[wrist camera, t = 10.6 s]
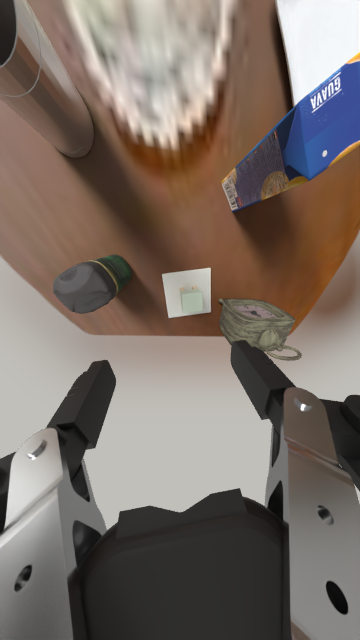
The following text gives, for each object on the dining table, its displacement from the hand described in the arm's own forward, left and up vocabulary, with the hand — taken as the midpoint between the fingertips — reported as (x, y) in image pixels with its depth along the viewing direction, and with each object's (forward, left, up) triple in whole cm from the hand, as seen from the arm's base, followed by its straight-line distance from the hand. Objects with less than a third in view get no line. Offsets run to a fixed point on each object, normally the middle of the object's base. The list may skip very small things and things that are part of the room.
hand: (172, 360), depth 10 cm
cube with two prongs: (+8, +6, -36) cm, 37 cm away
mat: (+8, +6, -36) cm, 37 cm away
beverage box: (-17, +22, -36) cm, 46 cm away
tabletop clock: (+15, +21, -36) cm, 45 cm away
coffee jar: (-1, -14, -36) cm, 39 cm away
